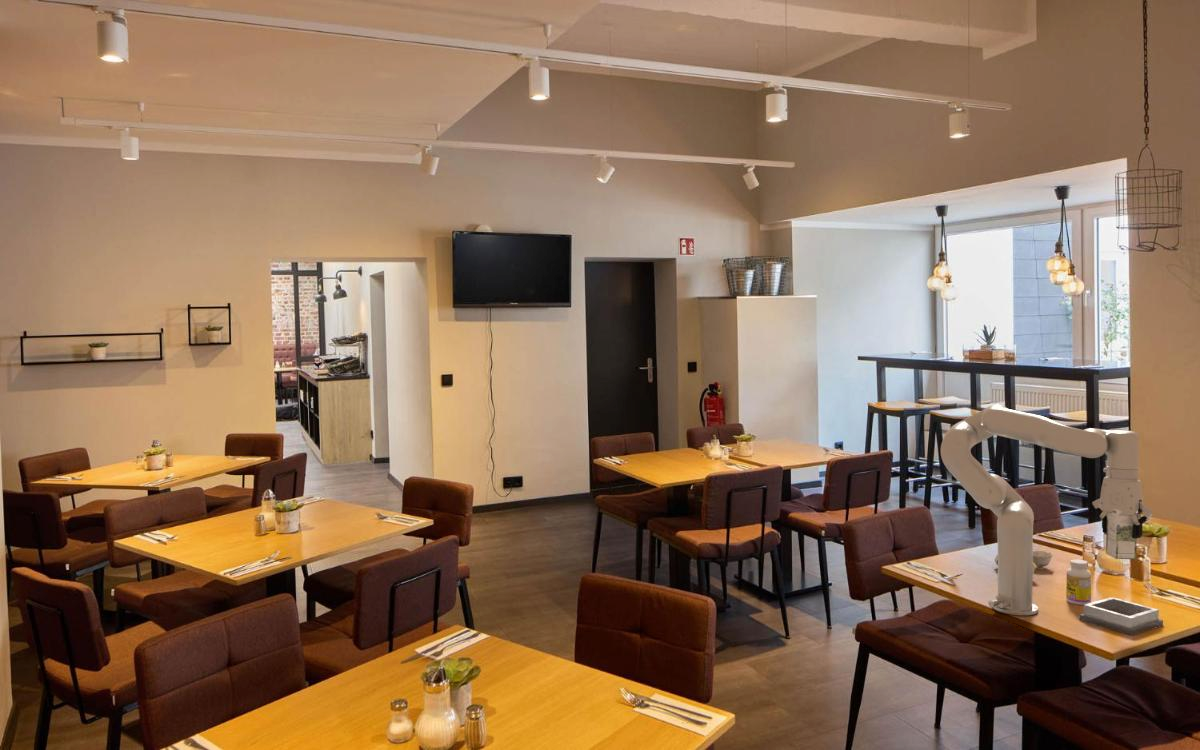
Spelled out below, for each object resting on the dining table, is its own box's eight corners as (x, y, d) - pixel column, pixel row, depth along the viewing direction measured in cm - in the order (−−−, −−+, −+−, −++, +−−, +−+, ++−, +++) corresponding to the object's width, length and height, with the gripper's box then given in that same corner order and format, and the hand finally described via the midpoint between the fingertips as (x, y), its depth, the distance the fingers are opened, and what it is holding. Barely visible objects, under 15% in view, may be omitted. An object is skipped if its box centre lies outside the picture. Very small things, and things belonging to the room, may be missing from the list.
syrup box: (1126, 554, 247) (1127, 504, 246) (1137, 559, 241) (1137, 509, 240) (1105, 554, 248) (1106, 504, 247) (1115, 559, 242) (1116, 509, 241)
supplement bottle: (1062, 598, 267) (1062, 558, 267) (1084, 598, 267) (1084, 558, 266) (1072, 605, 261) (1073, 564, 260) (1095, 605, 260) (1095, 564, 260)
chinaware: (1036, 590, 281) (1042, 541, 279) (982, 577, 292) (988, 529, 289) (1053, 570, 303) (1059, 524, 301) (1003, 558, 313) (1008, 514, 311)
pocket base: (1132, 635, 236) (1132, 619, 235) (1079, 619, 249) (1079, 604, 248) (1162, 625, 243) (1163, 609, 242) (1110, 610, 256) (1110, 595, 256)
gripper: (1084, 471, 249) (1084, 530, 250) (1146, 479, 234) (1145, 543, 235) (1100, 468, 253) (1099, 527, 254) (1162, 477, 237) (1161, 539, 238)
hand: (1121, 534), depth 244 cm, fingers closed on syrup box, 7 cm apart
